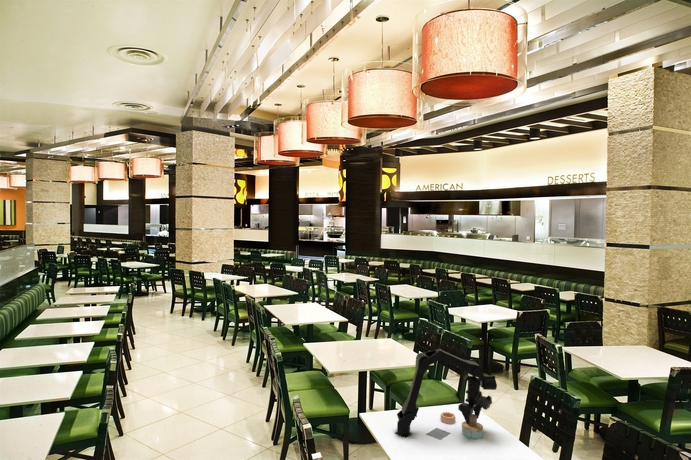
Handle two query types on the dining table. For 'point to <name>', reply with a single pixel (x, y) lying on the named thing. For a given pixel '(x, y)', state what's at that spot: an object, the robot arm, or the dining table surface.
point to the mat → (438, 433)
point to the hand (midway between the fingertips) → (472, 421)
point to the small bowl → (447, 418)
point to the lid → (472, 424)
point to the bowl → (472, 434)
